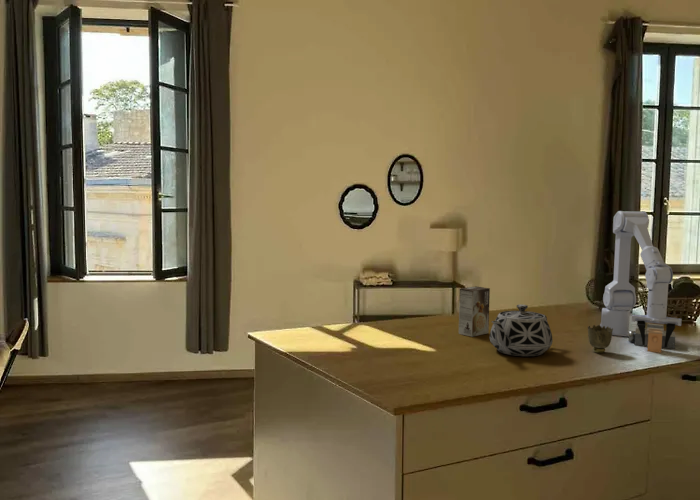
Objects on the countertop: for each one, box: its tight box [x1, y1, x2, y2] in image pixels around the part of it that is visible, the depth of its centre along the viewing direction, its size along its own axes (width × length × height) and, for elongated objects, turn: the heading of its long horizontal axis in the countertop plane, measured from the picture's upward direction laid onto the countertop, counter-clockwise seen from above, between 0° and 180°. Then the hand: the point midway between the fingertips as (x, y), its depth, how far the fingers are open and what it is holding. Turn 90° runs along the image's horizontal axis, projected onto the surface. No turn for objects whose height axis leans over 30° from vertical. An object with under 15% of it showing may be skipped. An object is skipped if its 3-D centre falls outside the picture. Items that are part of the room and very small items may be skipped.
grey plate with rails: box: [628, 323, 676, 350], centre depth 235 cm, size 14×9×6 cm, turn 67°
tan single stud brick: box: [647, 331, 662, 353], centre depth 225 cm, size 4×6×6 cm
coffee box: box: [458, 285, 491, 338], centre depth 246 cm, size 9×6×16 cm
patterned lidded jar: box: [489, 303, 553, 357], centre depth 220 cm, size 19×31×15 cm, turn 135°
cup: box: [587, 324, 613, 354], centre depth 222 cm, size 8×7×8 cm
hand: (654, 345), depth 226 cm, fingers open, 6 cm apart
